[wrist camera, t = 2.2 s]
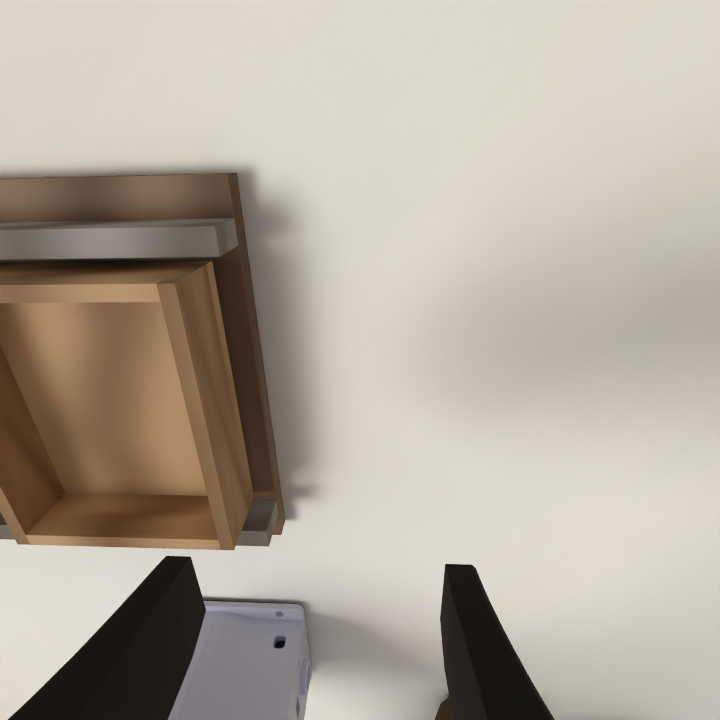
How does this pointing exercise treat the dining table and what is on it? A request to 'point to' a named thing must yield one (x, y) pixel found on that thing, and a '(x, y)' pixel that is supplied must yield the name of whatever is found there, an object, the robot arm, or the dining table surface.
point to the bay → (160, 243)
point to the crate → (119, 407)
